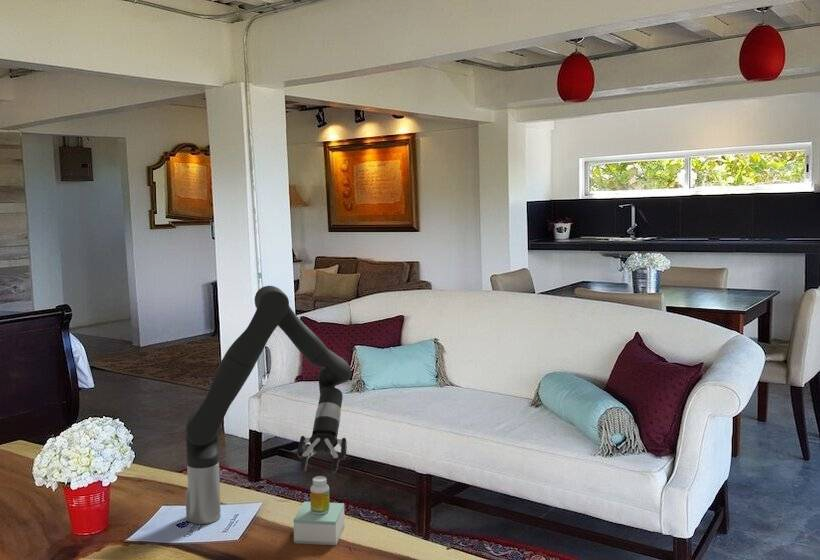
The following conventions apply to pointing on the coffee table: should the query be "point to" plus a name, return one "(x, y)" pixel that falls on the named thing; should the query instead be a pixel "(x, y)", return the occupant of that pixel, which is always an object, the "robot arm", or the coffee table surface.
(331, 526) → the storage box
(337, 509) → the lid
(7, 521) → the coffee table surface
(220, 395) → the robot arm
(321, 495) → the supplement bottle
